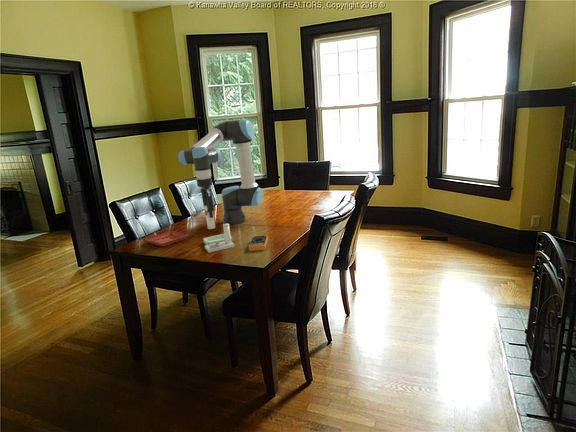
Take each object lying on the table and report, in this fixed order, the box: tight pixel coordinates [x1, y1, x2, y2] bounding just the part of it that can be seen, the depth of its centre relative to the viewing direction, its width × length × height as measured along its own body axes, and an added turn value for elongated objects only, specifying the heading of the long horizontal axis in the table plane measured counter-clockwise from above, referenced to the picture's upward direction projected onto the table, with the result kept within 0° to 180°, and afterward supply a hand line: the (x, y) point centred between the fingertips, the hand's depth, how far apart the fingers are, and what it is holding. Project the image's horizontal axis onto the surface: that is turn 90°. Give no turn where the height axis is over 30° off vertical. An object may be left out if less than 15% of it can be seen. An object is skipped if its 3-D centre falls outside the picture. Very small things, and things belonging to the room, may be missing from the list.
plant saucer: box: [145, 230, 189, 248], centre depth 219 cm, size 18×18×3 cm
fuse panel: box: [204, 241, 235, 254], centre depth 200 cm, size 14×8×2 cm, turn 116°
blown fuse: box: [203, 205, 216, 230], centre depth 194 cm, size 4×4×12 cm
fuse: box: [222, 223, 232, 244], centre depth 200 cm, size 3×3×12 cm
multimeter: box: [248, 234, 269, 252], centre depth 198 cm, size 9×18×3 cm, turn 178°
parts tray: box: [202, 233, 234, 246], centre depth 209 cm, size 14×10×2 cm
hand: (210, 222), depth 195 cm, fingers closed on blown fuse, 4 cm apart
